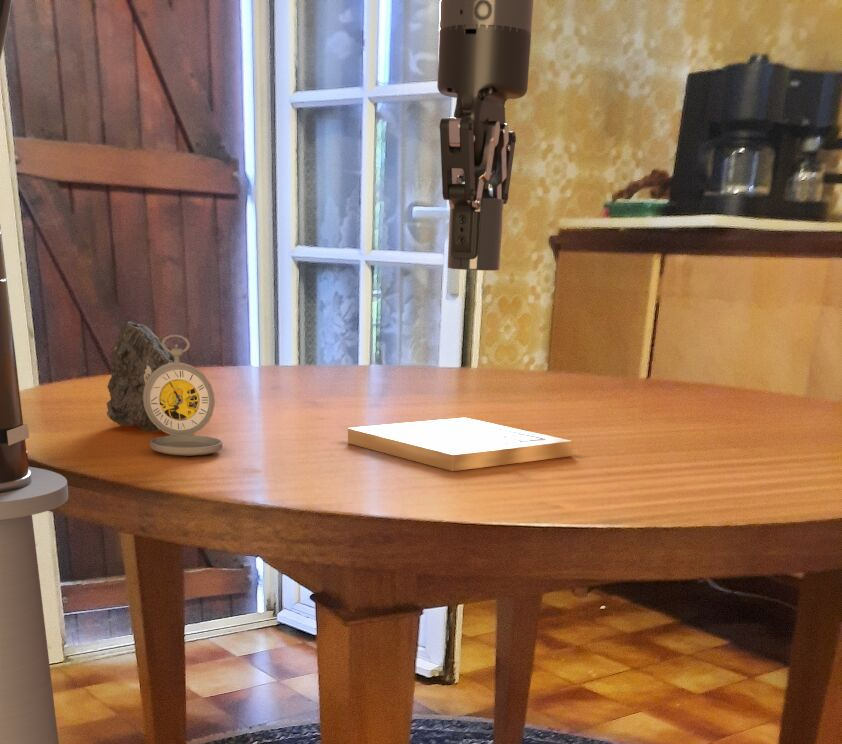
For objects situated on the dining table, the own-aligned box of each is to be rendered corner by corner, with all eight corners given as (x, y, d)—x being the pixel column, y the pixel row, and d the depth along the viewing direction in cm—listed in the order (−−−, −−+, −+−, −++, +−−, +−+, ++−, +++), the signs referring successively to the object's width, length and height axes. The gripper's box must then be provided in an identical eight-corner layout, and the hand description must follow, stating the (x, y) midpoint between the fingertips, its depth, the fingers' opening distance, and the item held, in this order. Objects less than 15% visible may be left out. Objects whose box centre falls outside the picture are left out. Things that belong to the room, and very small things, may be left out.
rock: (80, 393, 113) (113, 304, 108) (159, 413, 120) (193, 331, 115) (125, 453, 107) (162, 362, 102) (206, 471, 114) (244, 386, 109)
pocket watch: (184, 461, 96) (177, 343, 92) (123, 448, 100) (114, 335, 96) (249, 450, 102) (246, 339, 98) (189, 439, 106) (183, 331, 102)
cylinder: (471, 270, 92) (475, 197, 89) (436, 267, 95) (439, 196, 93) (510, 270, 95) (514, 199, 92) (475, 268, 98) (478, 199, 95)
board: (452, 471, 97) (453, 454, 97) (347, 443, 108) (347, 427, 107) (571, 456, 107) (573, 440, 106) (464, 431, 118) (465, 417, 117)
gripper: (469, 42, 94) (459, 255, 102) (410, 13, 82) (404, 257, 90) (551, 41, 92) (535, 259, 99) (504, 10, 80) (489, 261, 87)
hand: (473, 257), depth 94 cm, fingers closed on cylinder, 4 cm apart
